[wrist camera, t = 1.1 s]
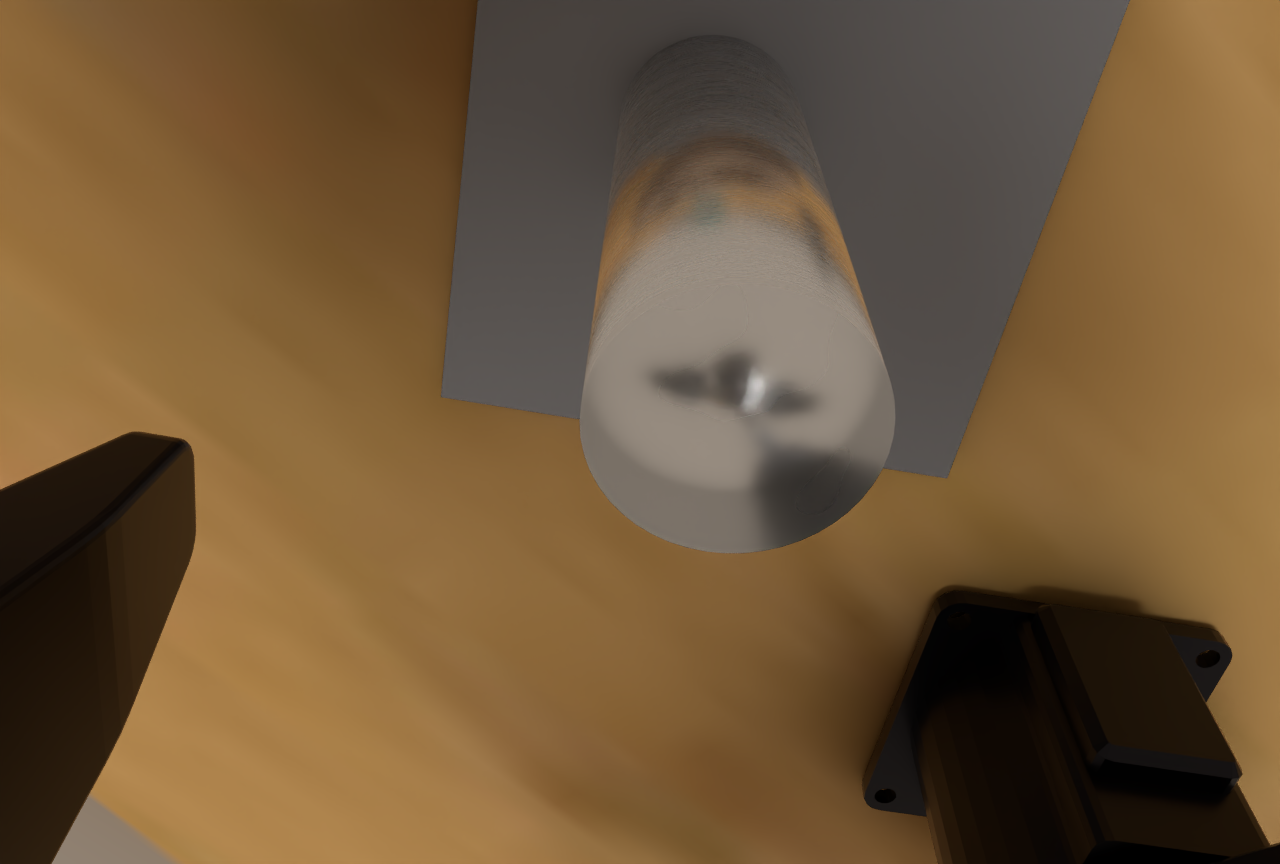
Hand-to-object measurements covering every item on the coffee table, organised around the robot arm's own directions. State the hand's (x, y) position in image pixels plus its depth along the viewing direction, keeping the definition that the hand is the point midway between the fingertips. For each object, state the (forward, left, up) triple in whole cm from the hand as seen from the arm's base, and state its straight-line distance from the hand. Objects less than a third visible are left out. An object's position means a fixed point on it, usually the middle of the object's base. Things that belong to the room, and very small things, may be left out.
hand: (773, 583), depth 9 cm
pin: (0, 0, -12) cm, 12 cm away
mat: (-1, -1, -12) cm, 12 cm away
